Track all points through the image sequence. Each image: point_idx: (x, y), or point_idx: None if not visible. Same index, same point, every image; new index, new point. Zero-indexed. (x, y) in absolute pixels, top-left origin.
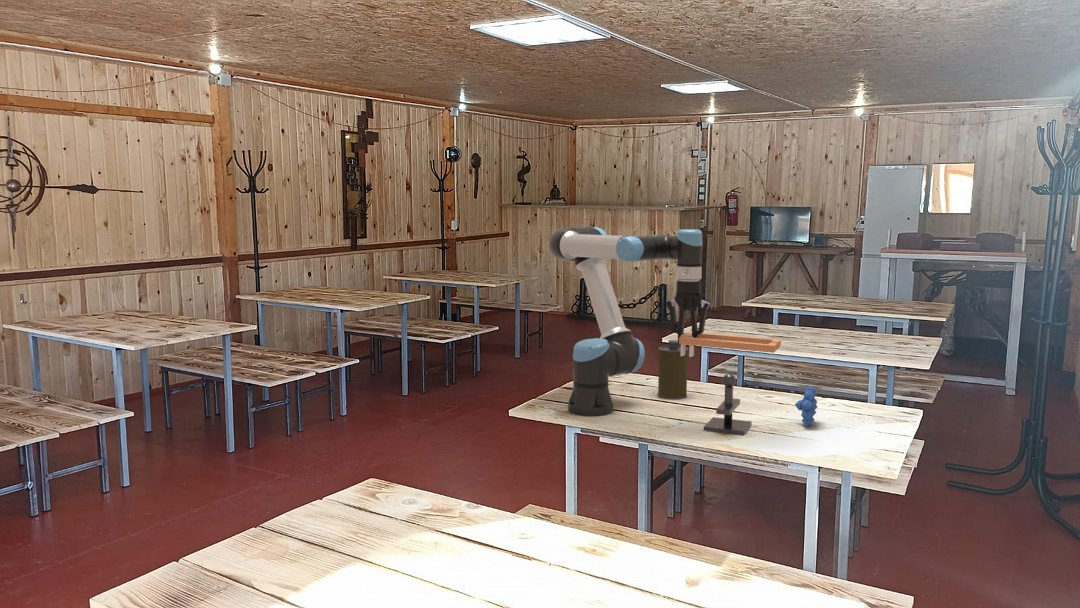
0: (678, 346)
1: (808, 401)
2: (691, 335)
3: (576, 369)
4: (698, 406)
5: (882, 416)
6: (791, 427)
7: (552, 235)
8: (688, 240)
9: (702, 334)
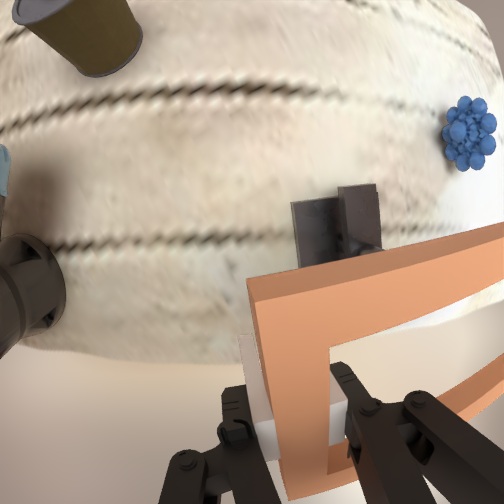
0: None
1: (484, 162)
2: (335, 431)
3: None
4: (201, 89)
5: (479, 54)
6: (430, 168)
7: None
8: None
9: (397, 323)
